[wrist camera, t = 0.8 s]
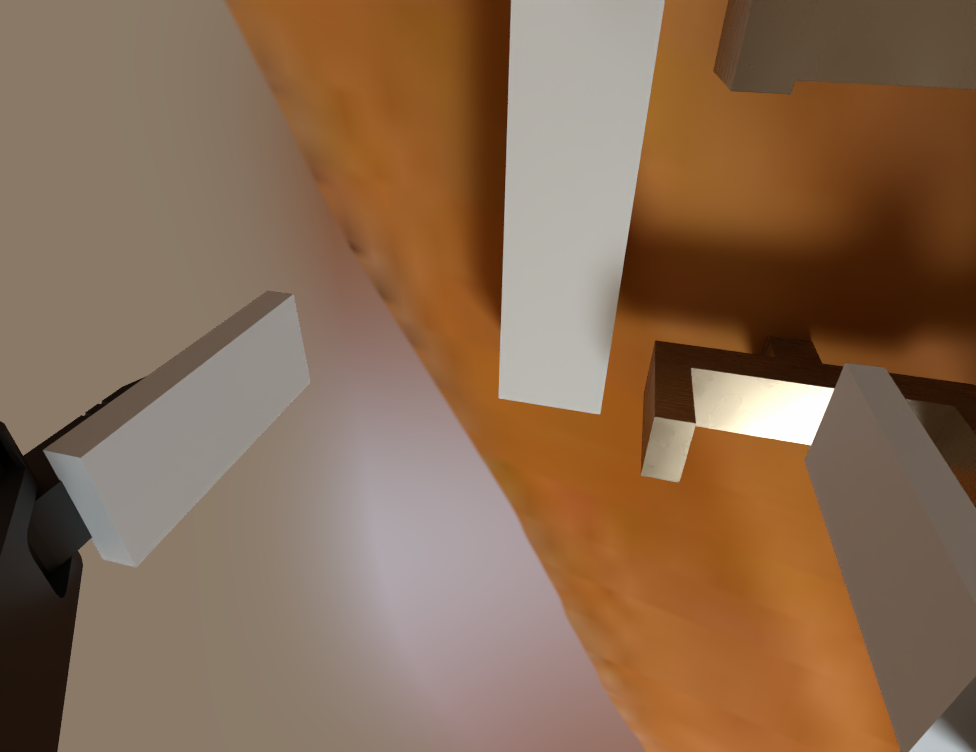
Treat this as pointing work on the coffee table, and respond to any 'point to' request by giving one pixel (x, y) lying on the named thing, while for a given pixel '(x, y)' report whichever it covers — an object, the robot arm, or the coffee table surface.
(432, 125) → the coffee table surface
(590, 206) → the rail
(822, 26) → the cup bracket
